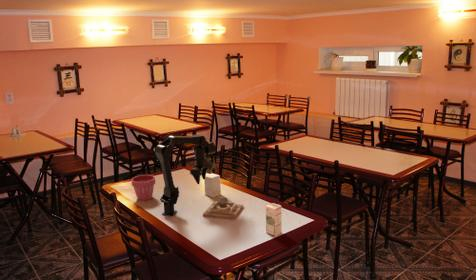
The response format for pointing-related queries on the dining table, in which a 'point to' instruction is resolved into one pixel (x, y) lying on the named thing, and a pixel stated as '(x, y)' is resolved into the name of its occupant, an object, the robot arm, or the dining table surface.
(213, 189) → the supplement box
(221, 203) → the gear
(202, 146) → the robot arm
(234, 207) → the board
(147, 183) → the plant pot
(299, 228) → the dining table surface
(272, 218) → the syrup box
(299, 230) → the dining table surface
